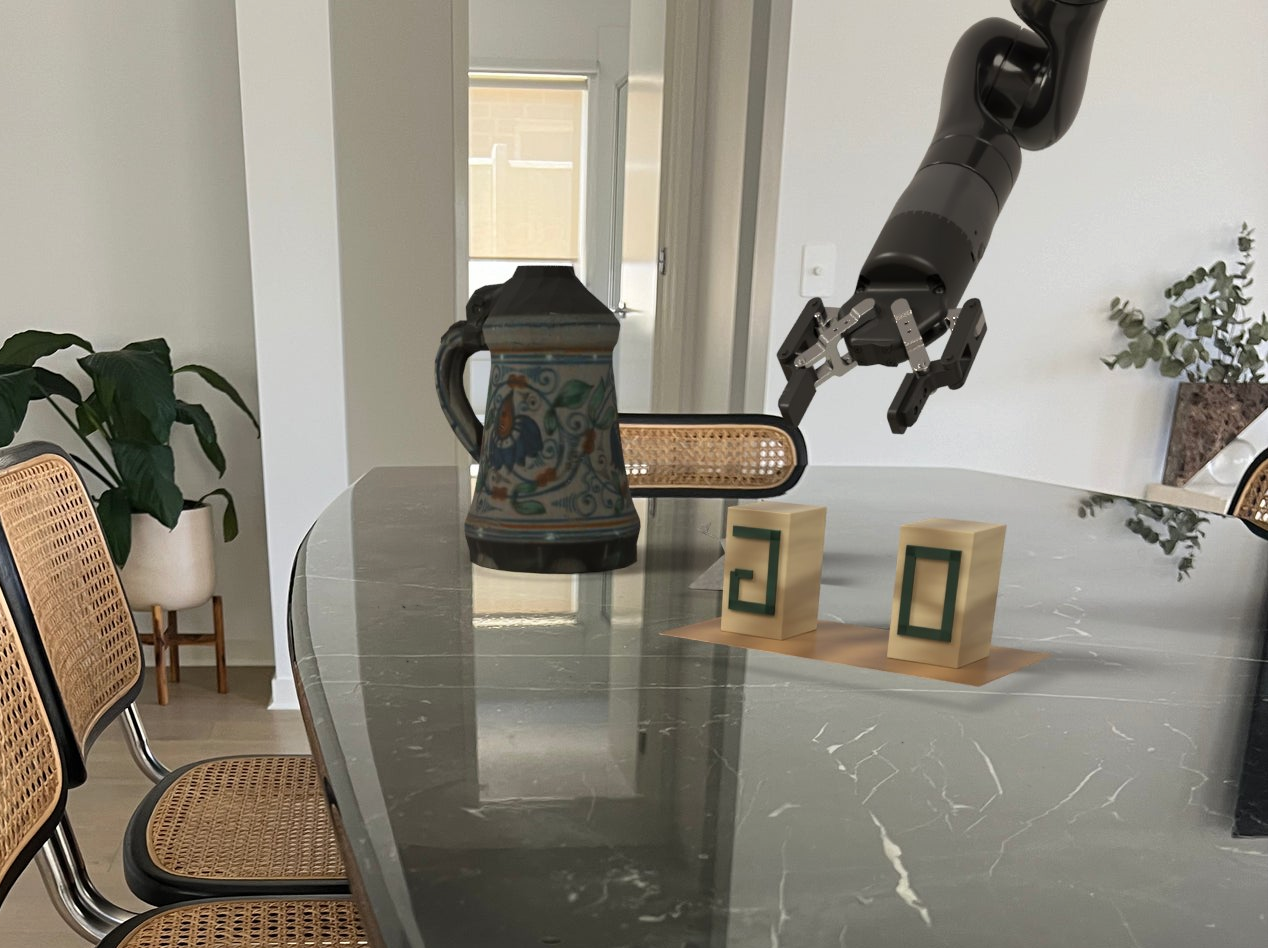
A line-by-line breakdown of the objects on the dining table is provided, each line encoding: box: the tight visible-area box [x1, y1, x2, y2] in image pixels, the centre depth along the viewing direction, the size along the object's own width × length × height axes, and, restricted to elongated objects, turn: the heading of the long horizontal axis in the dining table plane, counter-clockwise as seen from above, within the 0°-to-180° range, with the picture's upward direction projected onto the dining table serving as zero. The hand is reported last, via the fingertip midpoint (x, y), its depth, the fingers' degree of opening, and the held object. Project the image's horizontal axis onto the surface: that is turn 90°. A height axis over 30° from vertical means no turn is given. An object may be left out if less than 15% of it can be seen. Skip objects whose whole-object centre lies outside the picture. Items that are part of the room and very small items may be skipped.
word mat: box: [658, 616, 1053, 688], centre depth 101 cm, size 24×12×1 cm, turn 51°
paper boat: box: [686, 498, 765, 591], centre depth 126 cm, size 12×6×9 cm
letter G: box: [721, 500, 828, 640], centre depth 103 cm, size 5×5×8 cm
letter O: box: [887, 517, 1008, 669], centre depth 95 cm, size 5×5×8 cm
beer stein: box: [433, 264, 641, 574], centre depth 133 cm, size 16×19×25 cm
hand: (839, 422), depth 104 cm, fingers open, 8 cm apart
